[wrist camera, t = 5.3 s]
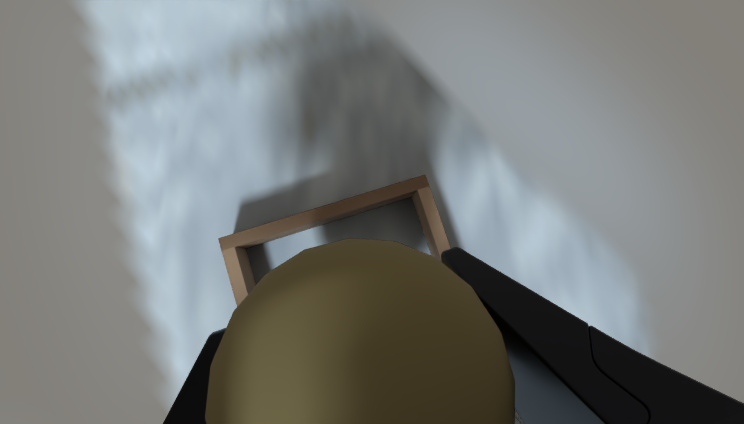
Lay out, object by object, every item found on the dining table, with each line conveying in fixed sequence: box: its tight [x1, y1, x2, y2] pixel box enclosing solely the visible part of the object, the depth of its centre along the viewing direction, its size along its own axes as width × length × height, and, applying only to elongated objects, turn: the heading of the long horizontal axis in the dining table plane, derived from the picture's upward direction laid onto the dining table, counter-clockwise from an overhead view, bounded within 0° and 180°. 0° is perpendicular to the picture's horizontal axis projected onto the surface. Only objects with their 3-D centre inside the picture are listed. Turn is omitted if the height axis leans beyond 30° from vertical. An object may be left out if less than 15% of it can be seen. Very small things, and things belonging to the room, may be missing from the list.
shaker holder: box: [218, 175, 451, 307], centre depth 20 cm, size 10×10×2 cm
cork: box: [205, 238, 515, 424], centre depth 11 cm, size 6×6×11 cm
